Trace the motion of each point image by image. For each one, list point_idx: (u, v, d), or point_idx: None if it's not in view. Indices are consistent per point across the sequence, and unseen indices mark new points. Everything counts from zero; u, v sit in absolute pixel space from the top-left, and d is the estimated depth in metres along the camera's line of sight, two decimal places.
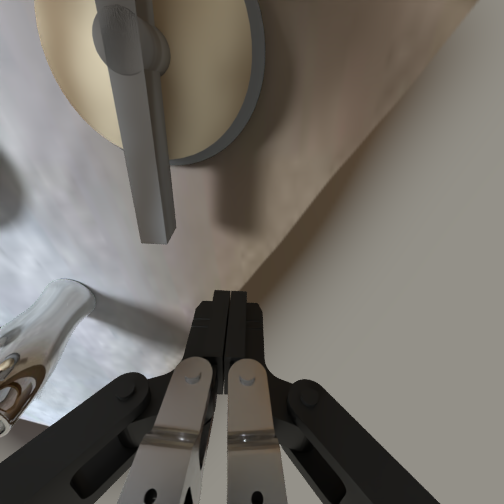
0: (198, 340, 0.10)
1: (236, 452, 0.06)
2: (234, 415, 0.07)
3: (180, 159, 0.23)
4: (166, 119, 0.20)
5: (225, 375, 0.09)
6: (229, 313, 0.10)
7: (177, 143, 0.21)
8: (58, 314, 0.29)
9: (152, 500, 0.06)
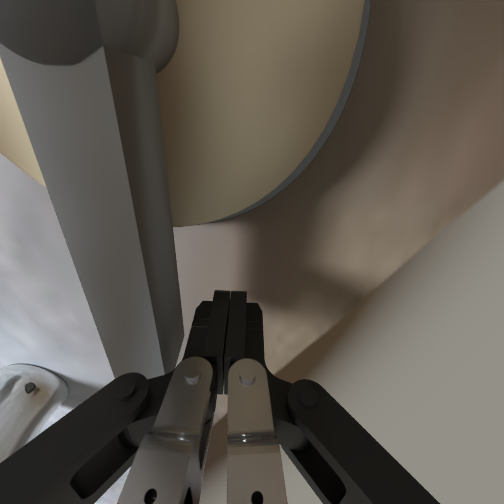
0: (198, 340, 0.10)
1: (236, 452, 0.06)
2: (234, 415, 0.07)
3: None
4: (169, 158, 0.10)
5: (225, 375, 0.09)
6: (229, 313, 0.10)
7: (189, 200, 0.11)
8: (3, 433, 0.19)
9: (152, 500, 0.06)
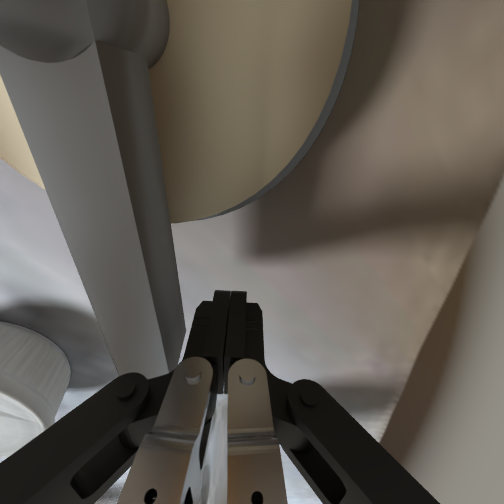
0: (198, 340, 0.10)
1: (236, 452, 0.06)
2: (234, 415, 0.07)
3: None
4: (164, 154, 0.10)
5: (225, 375, 0.09)
6: (229, 313, 0.10)
7: (186, 196, 0.11)
8: None
9: (152, 500, 0.06)
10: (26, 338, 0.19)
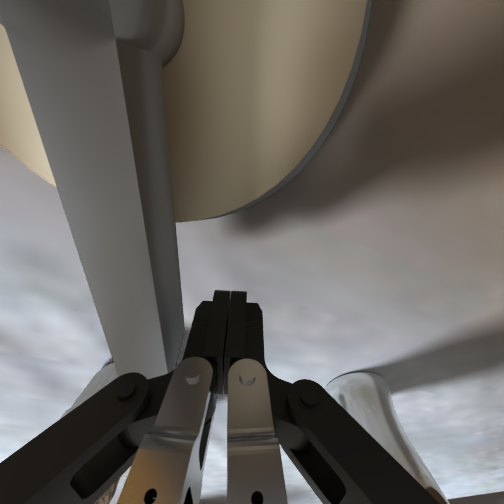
0: (198, 340, 0.10)
1: (236, 452, 0.06)
2: (234, 415, 0.07)
3: None
4: (172, 153, 0.10)
5: (225, 375, 0.09)
6: (229, 313, 0.10)
7: (191, 195, 0.11)
8: (377, 433, 0.20)
9: (152, 500, 0.06)
10: None
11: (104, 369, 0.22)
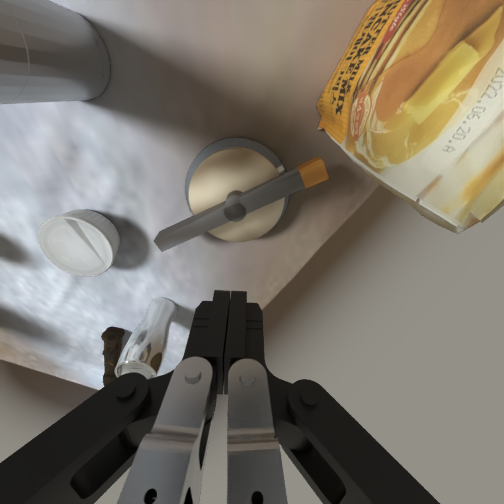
0: (198, 340, 0.10)
1: (236, 452, 0.06)
2: (234, 415, 0.07)
3: None
4: None
5: (225, 375, 0.09)
6: (229, 313, 0.10)
7: None
8: (164, 319, 0.49)
9: (152, 500, 0.06)
10: (116, 232, 0.44)
11: (95, 213, 0.42)
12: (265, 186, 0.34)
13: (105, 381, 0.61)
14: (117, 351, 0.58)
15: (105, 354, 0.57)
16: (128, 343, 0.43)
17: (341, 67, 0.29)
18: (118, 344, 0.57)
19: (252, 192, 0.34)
